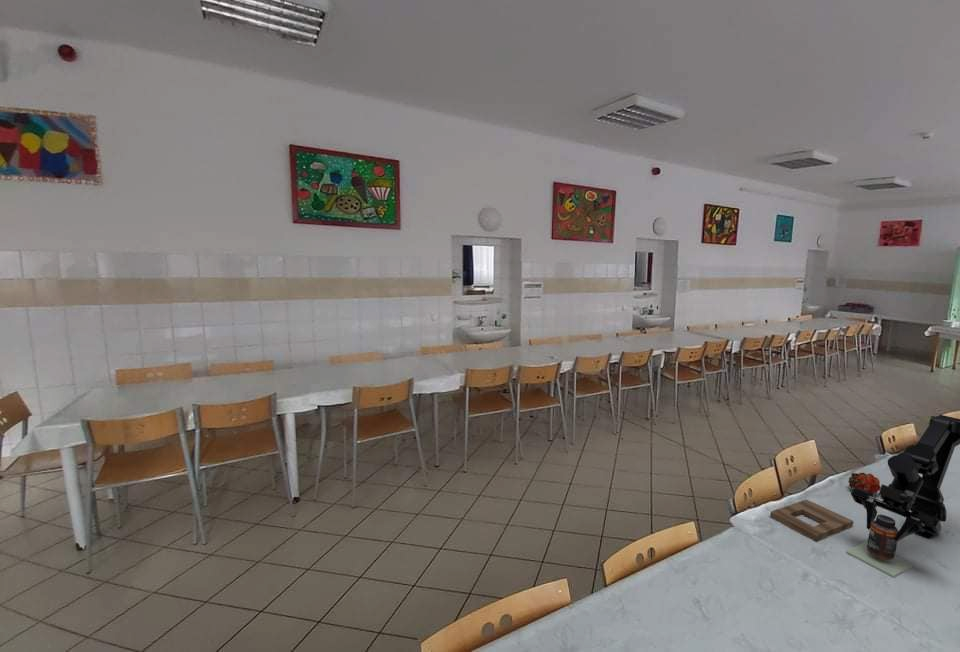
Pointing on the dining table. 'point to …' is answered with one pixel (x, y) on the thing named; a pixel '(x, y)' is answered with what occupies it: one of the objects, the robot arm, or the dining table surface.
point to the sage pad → (880, 561)
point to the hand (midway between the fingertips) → (881, 534)
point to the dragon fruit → (864, 482)
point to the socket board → (825, 517)
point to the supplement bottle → (882, 537)
